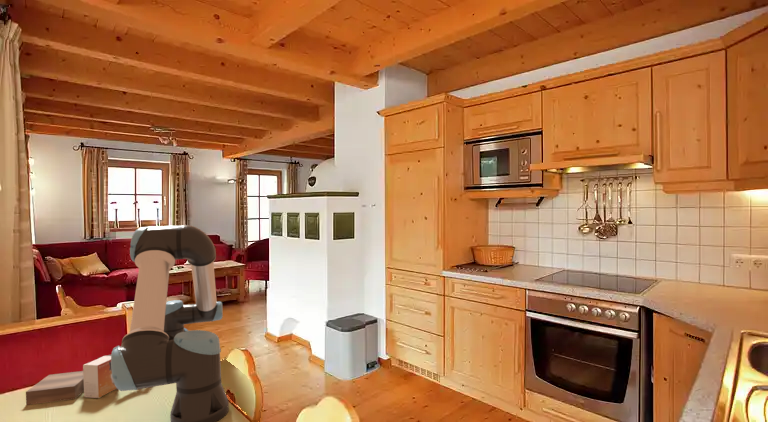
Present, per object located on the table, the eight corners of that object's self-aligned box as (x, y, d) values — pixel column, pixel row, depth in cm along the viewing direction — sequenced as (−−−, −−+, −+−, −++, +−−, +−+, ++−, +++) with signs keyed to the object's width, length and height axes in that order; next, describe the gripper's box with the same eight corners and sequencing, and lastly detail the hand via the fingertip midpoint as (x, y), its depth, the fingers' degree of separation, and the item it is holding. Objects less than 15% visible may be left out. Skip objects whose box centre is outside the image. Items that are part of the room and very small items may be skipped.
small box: (98, 398, 128) (96, 365, 128) (83, 397, 129) (82, 364, 129) (119, 387, 136) (118, 356, 135) (105, 386, 137) (104, 355, 137)
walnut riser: (75, 398, 128) (74, 386, 128) (26, 404, 125) (25, 391, 125) (93, 381, 141) (93, 369, 141) (49, 386, 138) (49, 374, 138)
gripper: (181, 362, 149) (130, 388, 129) (128, 356, 156) (71, 380, 136) (180, 342, 149) (129, 364, 129) (127, 337, 156) (70, 358, 136)
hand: (99, 373), depth 132 cm, fingers open, 13 cm apart
